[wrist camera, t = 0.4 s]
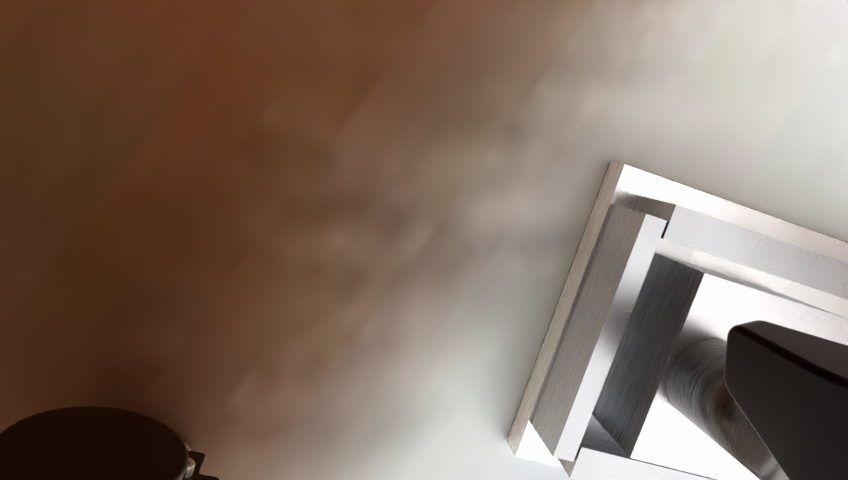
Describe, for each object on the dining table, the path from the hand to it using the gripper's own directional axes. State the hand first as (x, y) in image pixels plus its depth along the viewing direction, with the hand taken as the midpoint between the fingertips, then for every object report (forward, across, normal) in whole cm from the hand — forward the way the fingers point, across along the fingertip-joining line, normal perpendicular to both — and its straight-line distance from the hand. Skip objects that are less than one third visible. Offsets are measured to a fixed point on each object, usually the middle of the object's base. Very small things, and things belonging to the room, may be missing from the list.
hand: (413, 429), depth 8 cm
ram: (+11, -13, +10) cm, 20 cm away
